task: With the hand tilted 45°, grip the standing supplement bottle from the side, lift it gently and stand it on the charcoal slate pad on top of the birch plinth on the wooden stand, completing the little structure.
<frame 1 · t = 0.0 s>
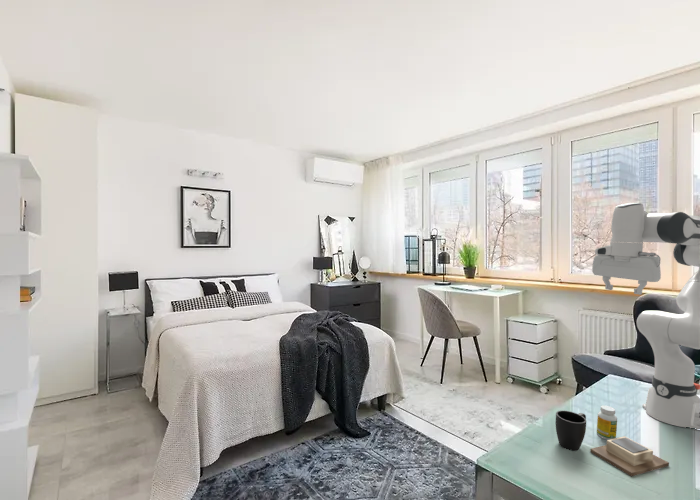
hand: (622, 291, 125), 48 cm above the table, tool pointing down, fingers open, 8 cm apart
mug: (572, 445, 117), on the table
wooden stand: (628, 458, 110), on the table
supplement bottle: (606, 436, 123), on the table
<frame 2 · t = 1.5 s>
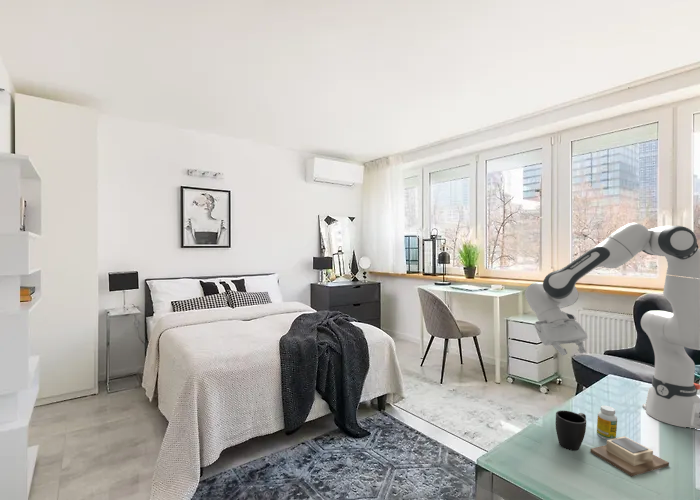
hand: (574, 353, 134), 24 cm above the table, tool tilted 45°, fingers open, 8 cm apart
nothing on the table moved.
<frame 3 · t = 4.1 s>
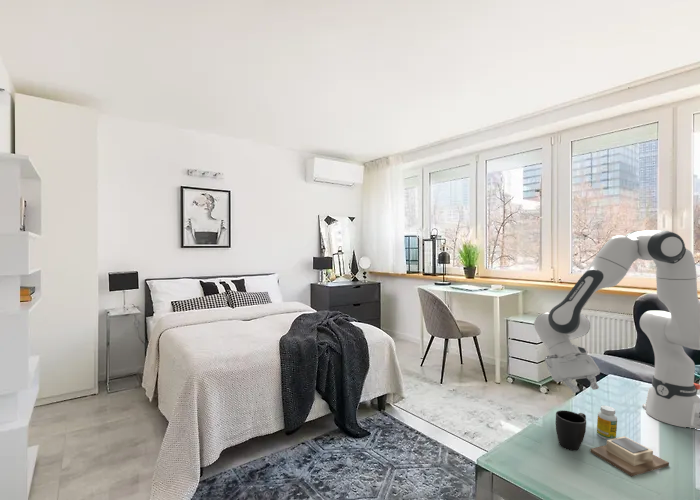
hand: (586, 390, 129), 12 cm above the table, tool tilted 45°, fingers open, 8 cm apart
nothing on the table moved.
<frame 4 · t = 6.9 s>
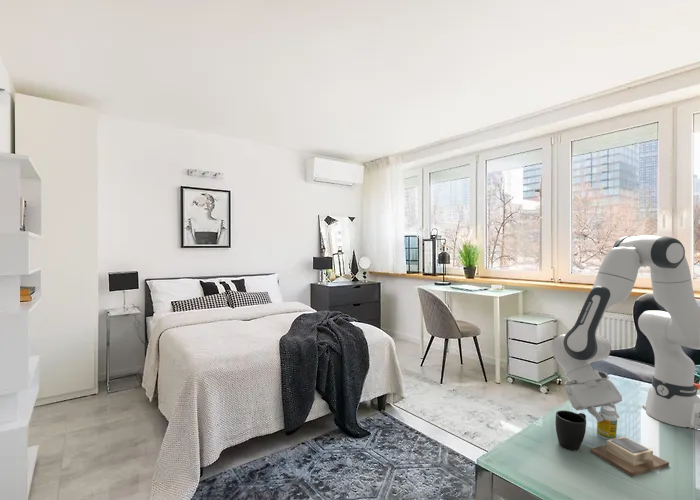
hand: (609, 419, 122), 6 cm above the table, tool tilted 45°, fingers closed on supplement bottle, 5 cm apart
supplement bottle: (606, 436, 123), on the table, touching gripper
everything else where it was.
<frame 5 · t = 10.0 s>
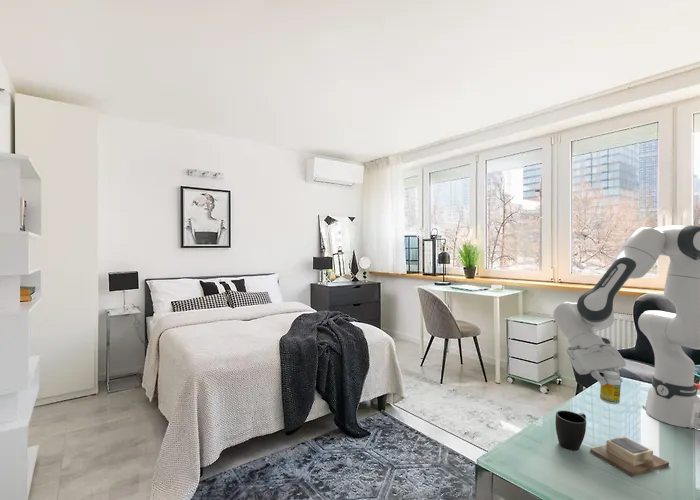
hand: (612, 383, 121), 18 cm above the table, tool tilted 45°, fingers closed on supplement bottle, 5 cm apart
supplement bottle: (609, 401, 122), point 12 cm above the table, touching gripper
everything else where it was.
when the fingers open (11 cm above the table, at t = 13.2 s): supplement bottle stays where it is, resting on wooden stand.
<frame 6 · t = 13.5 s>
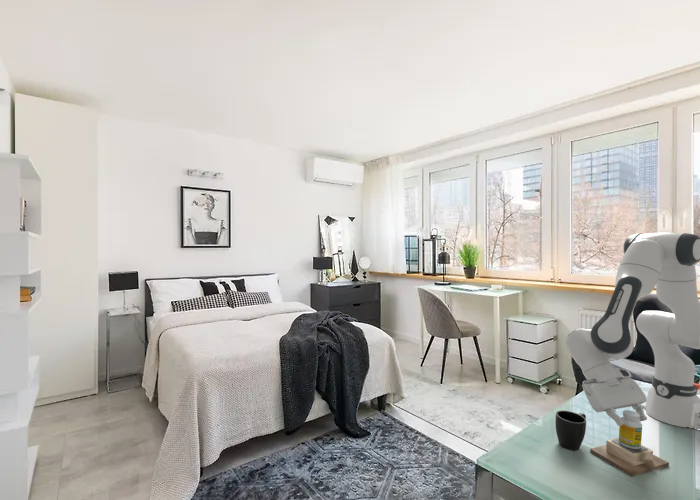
hand: (633, 422, 109), 11 cm above the table, tool tilted 45°, fingers open, 8 cm apart
supplement bottle: (629, 445, 110), point 4 cm above the table, touching wooden stand
everything else where it was.
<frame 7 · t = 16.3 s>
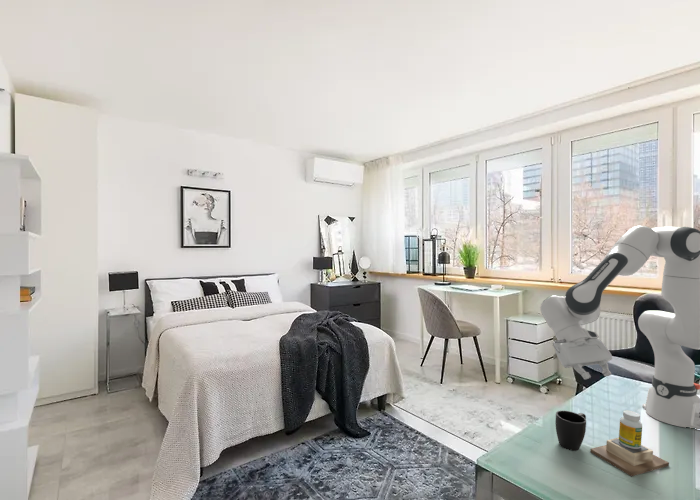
hand: (598, 377, 119), 21 cm above the table, tool tilted 45°, fingers open, 8 cm apart
nothing on the table moved.
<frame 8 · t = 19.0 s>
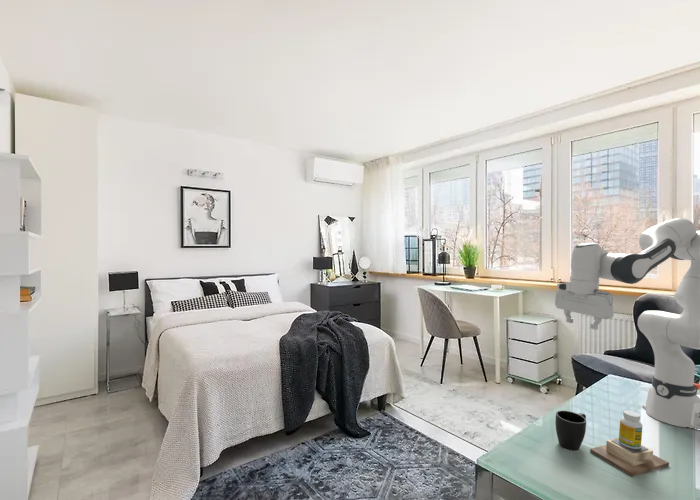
hand: (581, 325, 133), 34 cm above the table, tool pointing down, fingers open, 8 cm apart
nothing on the table moved.
at the end: supplement bottle inside the target area on the wooden stand (0.1 cm from its centre), point 4.1 cm above the wooden stand's base; supplement bottle tilted 0°; the gripper is holding nothing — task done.
